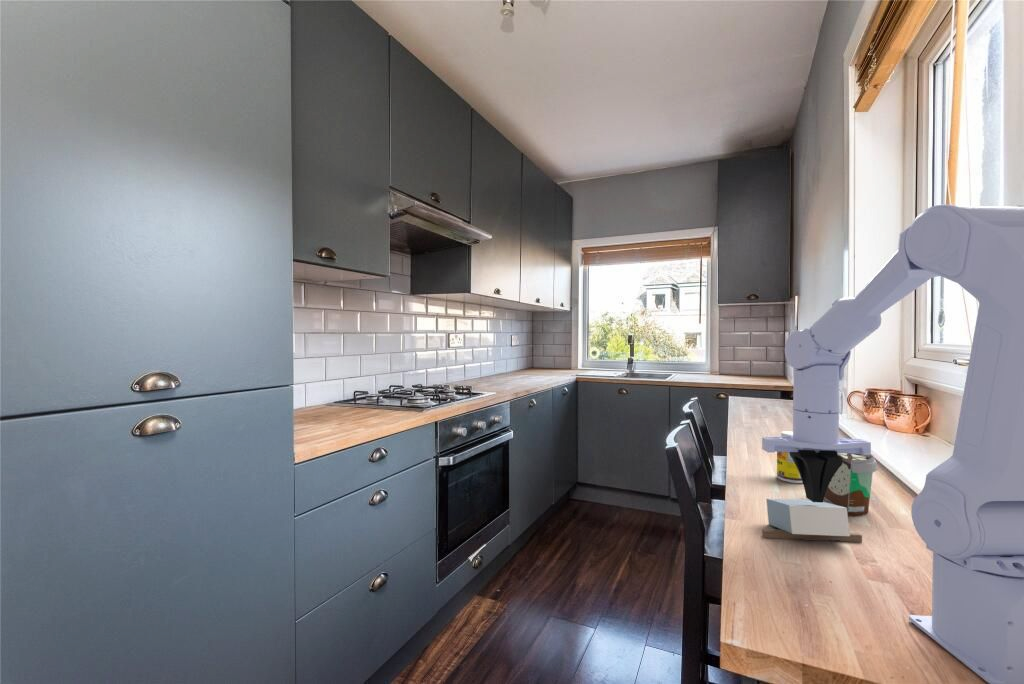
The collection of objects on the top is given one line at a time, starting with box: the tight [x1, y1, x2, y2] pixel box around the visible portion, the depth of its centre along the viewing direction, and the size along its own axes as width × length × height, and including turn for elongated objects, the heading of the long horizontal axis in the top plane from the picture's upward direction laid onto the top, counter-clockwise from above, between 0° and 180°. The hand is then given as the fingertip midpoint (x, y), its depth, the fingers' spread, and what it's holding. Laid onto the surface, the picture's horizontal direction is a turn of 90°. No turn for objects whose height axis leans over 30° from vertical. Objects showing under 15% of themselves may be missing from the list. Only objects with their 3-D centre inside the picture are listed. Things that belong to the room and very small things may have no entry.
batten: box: [761, 528, 863, 543], centre depth 68 cm, size 1×14×1 cm, turn 85°
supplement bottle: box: [776, 430, 803, 484], centre depth 96 cm, size 6×6×10 cm
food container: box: [824, 453, 879, 517], centre depth 81 cm, size 12×6×10 cm, turn 168°
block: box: [766, 498, 851, 536], centre depth 70 cm, size 4×8×8 cm
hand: (814, 500), depth 67 cm, fingers closed
